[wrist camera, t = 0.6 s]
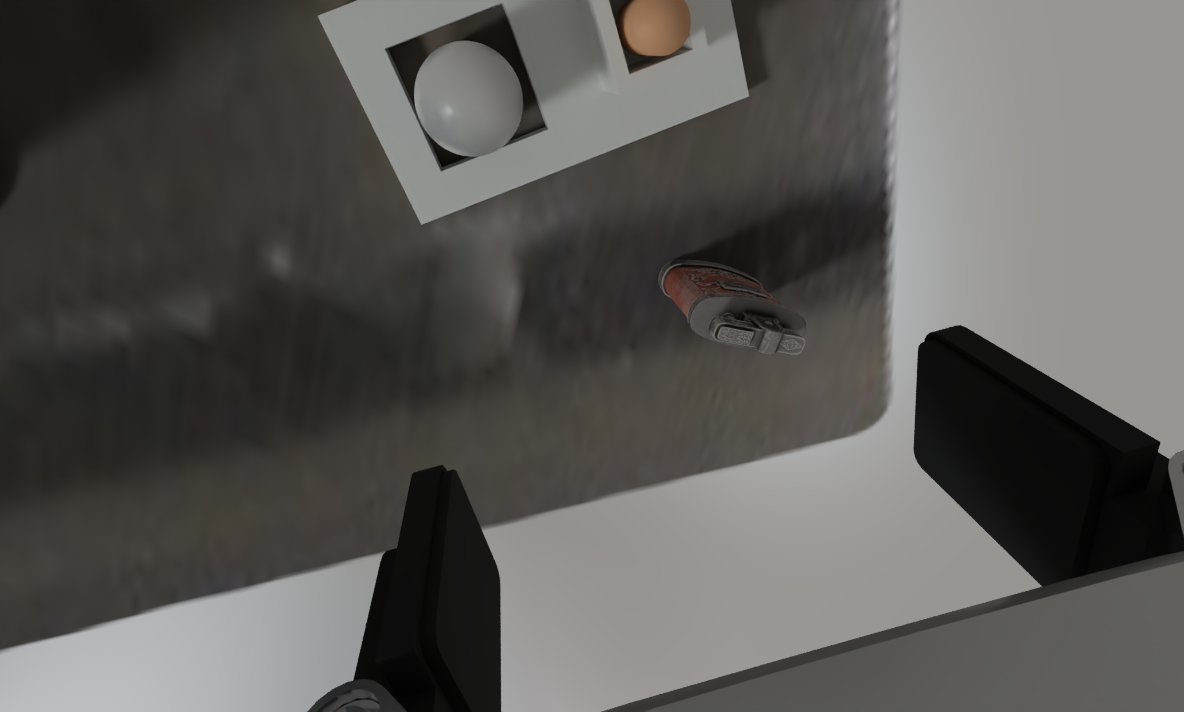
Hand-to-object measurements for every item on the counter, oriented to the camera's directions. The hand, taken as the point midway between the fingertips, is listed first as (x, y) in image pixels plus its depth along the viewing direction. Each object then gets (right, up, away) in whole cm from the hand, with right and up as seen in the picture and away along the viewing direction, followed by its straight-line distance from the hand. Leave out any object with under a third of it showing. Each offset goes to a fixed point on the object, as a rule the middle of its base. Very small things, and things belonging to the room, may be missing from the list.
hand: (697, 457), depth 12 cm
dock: (-5, +20, +24) cm, 31 cm away
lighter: (+7, +7, +33) cm, 34 cm away
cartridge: (-9, +18, +24) cm, 32 cm away
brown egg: (+1, +20, +21) cm, 29 cm away
